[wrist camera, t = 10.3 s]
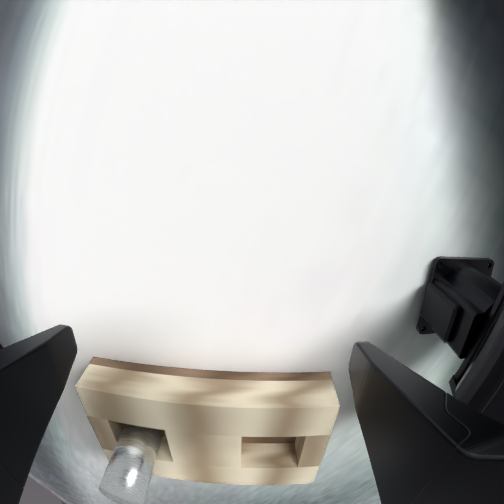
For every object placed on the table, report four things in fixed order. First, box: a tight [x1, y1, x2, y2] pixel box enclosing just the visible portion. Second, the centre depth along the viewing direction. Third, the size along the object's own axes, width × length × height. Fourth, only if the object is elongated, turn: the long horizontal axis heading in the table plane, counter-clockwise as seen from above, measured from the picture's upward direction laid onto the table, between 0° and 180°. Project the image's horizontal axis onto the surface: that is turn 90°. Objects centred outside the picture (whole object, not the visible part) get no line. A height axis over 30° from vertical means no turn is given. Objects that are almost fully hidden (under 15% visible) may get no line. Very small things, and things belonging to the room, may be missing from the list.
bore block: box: [75, 357, 340, 485], centre depth 24 cm, size 20×12×4 cm, turn 88°
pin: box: [99, 424, 165, 504], centre depth 21 cm, size 4×4×9 cm
